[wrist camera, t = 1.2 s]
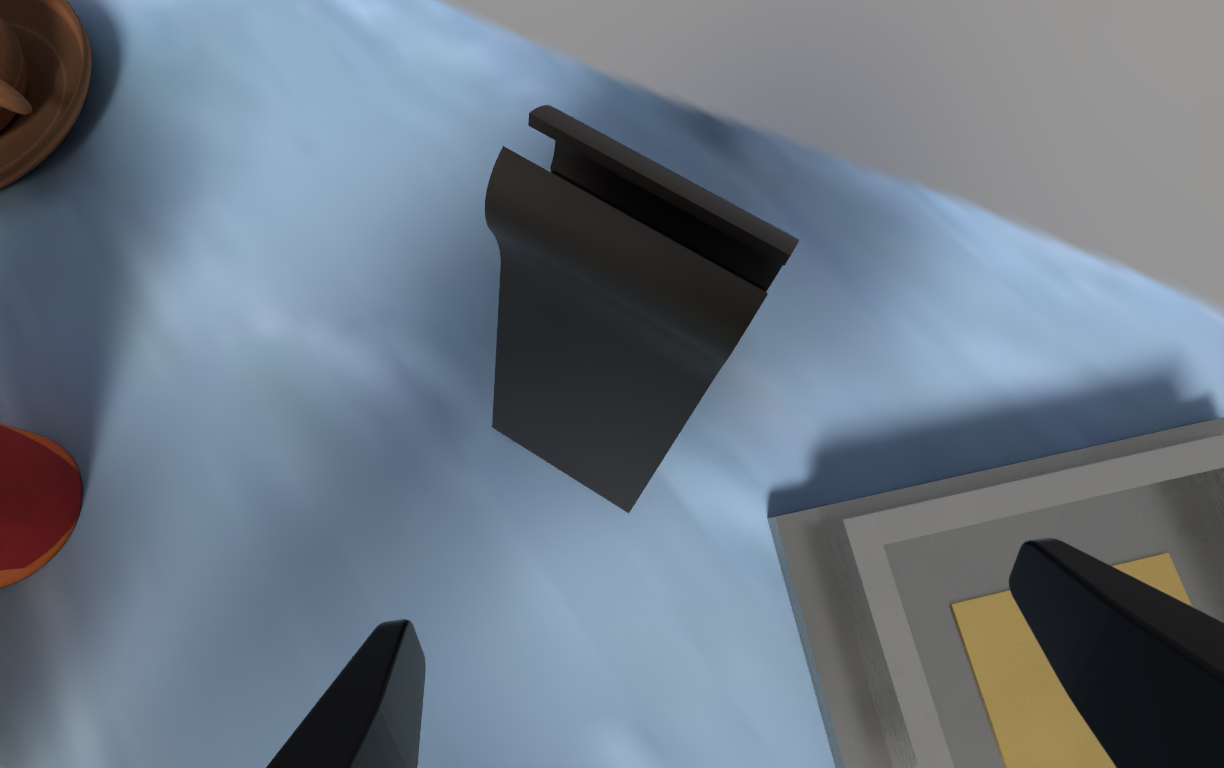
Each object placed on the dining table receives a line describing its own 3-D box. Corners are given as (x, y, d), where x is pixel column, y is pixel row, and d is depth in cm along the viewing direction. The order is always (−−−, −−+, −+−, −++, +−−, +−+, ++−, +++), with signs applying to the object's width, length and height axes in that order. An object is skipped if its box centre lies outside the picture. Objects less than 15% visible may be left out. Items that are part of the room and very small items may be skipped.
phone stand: (618, 247, 24) (633, -20, 13) (745, 320, 24) (882, 106, 12) (493, 428, 22) (375, 304, 11) (627, 514, 22) (656, 480, 10)
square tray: (915, 1057, 18) (977, 1158, 15) (767, 518, 22) (793, 514, 19) (1447, 901, 19) (1602, 966, 16) (1214, 419, 23) (1303, 400, 20)
